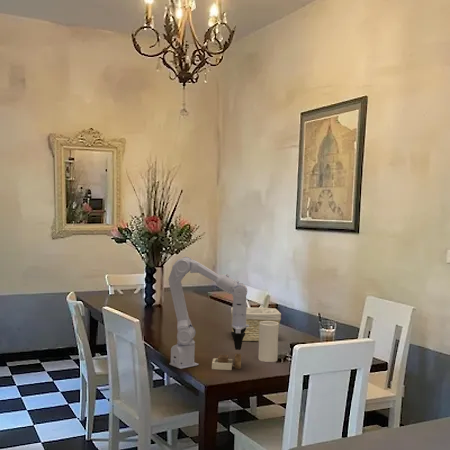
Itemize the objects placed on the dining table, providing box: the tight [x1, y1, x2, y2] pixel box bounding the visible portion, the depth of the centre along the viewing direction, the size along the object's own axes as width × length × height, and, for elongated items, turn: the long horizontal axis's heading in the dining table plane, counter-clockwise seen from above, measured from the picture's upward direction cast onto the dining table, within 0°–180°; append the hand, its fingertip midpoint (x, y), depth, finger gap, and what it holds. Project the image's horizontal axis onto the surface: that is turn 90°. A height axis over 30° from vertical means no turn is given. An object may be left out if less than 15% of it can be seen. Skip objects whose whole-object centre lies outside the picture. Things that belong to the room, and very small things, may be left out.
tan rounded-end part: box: [217, 353, 242, 370], centre depth 218 cm, size 9×4×6 cm, turn 86°
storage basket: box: [230, 306, 282, 343], centre depth 269 cm, size 24×16×15 cm
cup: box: [258, 321, 280, 363], centre depth 231 cm, size 8×8×16 cm
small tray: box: [211, 357, 234, 371], centre depth 218 cm, size 8×7×2 cm
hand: (238, 347), depth 217 cm, fingers open, 7 cm apart
